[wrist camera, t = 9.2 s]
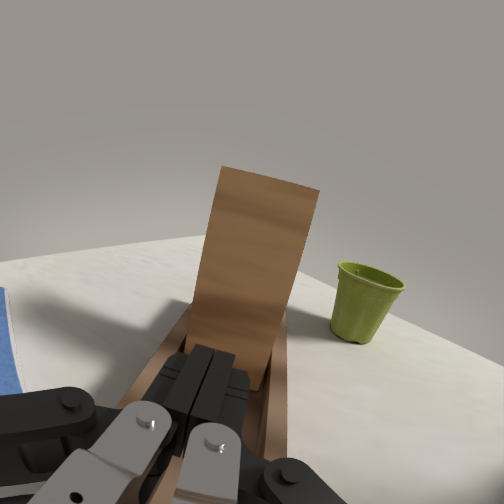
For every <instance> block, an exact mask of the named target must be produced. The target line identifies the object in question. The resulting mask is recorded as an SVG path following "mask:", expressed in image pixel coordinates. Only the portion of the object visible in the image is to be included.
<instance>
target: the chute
mask: <svg viewBox="0 0 504 504" xmlns="http://www.w3.org/2000/svg"><path fill="white" fill-rule="evenodd" d="M192 303H193V302H192ZM192 303H191V304H190V306H189V307H188V308H187V310H186V311H185V313H184V314H183V315H182V317H181V318H180V319H179V321H178V322H177V323H176V325H175V326H174V328H173V329H172V330H171V332H170V333H169V334H168V336H167V337H166V339H165V340H164V341H163V343H162V344H161V346H160V347H159V348H158V350H157V351H156V352H155V354H154V355H153V357H152V358H151V359H150V361H149V362H148V364H147V365H146V366H145V368H144V369H143V371H142V372H141V373H140V375H139V376H138V378H137V379H136V380H135V382H134V383H133V385H132V386H131V387H130V389H129V390H128V392H127V393H126V394H125V396H124V397H123V399H122V400H121V402H120V403H119V404H118V406H117V407H116V409H124V408H125V407H126V406H127V405H128V404H130V403H132V402H136V401H140V400H141V399H142V397H143V396H144V394H145V393H146V391H147V389H148V388H149V386H150V385H151V383H152V382H153V380H154V379H155V377H156V375H157V374H158V372H159V371H160V369H161V368H162V367H163V365H164V363H165V362H166V360H167V359H168V357H170V356H171V355H173V354H175V353H177V352H182V353H184V349H185V343H186V337H187V331H188V325H189V320H190V314H191V308H192ZM241 435H242V440H243V442H244V444H245V445H246V446H247V448H248V449H249V450H250V451H252V452H253V453H255V454H256V455H258V456H260V457H262V458H265V459H267V460H269V461H273V460H275V459H278V458H287V342H286V309H285V312H284V315H283V318H282V321H281V325H280V328H279V331H278V334H277V337H276V340H275V343H274V346H273V349H272V352H271V355H270V358H269V360H268V363H267V366H266V369H265V372H264V375H263V378H262V380H261V383H260V386H259V389H258V391H254V390H250V389H249V394H248V399H247V405H246V410H245V416H244V421H243V426H242V433H241ZM183 451H184V449H183ZM182 457H183V452H182V454H181V457H176V456H172V459H171V461H170V463H169V466H168V468H167V469H166V473H165V475H164V477H163V479H162V481H161V483H160V485H159V486H158V488H157V490H156V492H155V494H154V496H153V498H152V499H151V501H150V503H149V504H171V502H172V499H173V495H174V492H175V490H176V487H177V483H178V479H179V475H180V471H181V467H182V463H183V458H182ZM81 503H82V502H81Z"/></svg>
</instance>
